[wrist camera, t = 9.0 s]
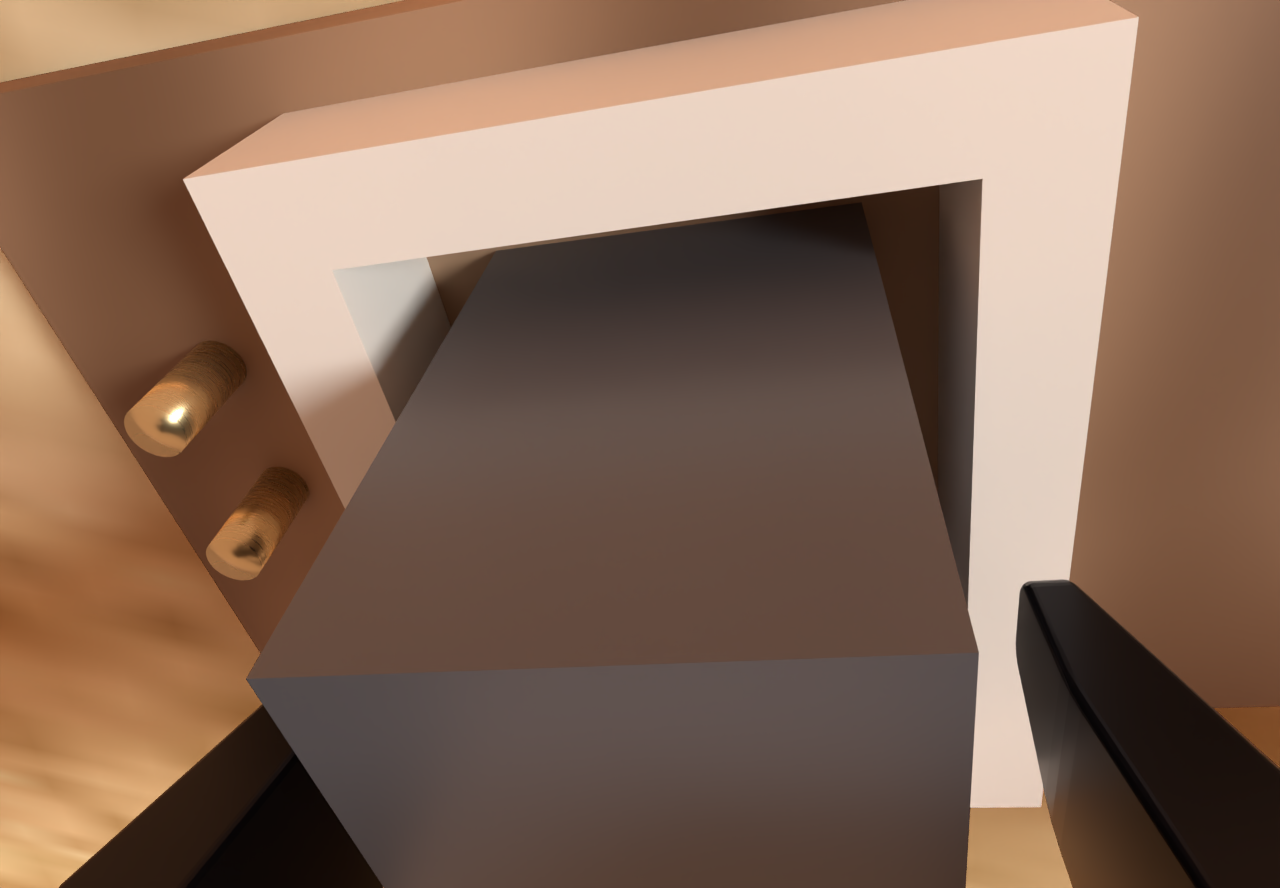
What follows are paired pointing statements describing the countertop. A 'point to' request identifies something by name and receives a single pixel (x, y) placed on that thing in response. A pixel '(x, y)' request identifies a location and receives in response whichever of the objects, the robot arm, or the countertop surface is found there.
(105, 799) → the countertop surface
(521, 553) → the plug block
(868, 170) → the socket board
